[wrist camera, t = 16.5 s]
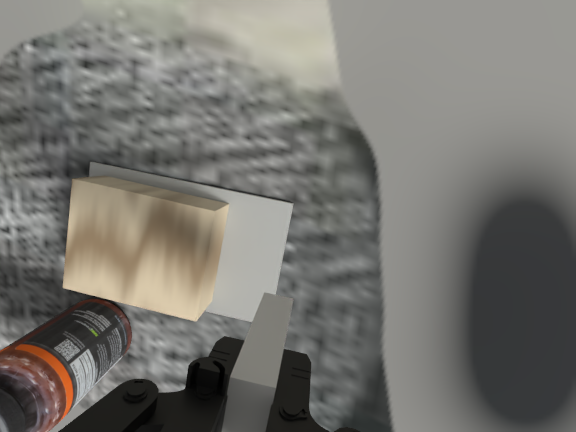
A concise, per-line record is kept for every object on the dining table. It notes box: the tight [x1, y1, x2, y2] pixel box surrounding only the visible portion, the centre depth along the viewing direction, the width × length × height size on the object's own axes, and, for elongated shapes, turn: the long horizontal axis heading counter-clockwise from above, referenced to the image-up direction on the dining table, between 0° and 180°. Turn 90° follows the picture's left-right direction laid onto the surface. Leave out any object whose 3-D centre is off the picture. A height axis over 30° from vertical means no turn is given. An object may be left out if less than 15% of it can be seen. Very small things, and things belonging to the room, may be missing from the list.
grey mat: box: [89, 162, 294, 322], centre depth 27 cm, size 10×16×1 cm, turn 79°
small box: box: [63, 175, 229, 321], centre depth 26 cm, size 8×4×10 cm
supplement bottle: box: [0, 299, 132, 432], centre depth 24 cm, size 6×6×11 cm
